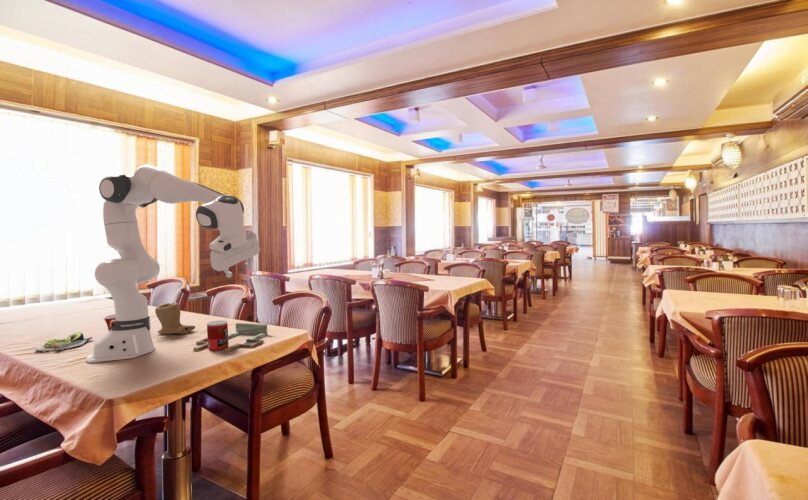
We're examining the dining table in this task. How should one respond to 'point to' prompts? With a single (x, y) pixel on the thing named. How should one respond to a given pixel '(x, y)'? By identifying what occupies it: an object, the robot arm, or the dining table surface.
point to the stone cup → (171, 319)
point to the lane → (244, 329)
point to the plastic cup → (108, 319)
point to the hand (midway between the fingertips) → (239, 271)
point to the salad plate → (65, 342)
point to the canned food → (217, 335)
